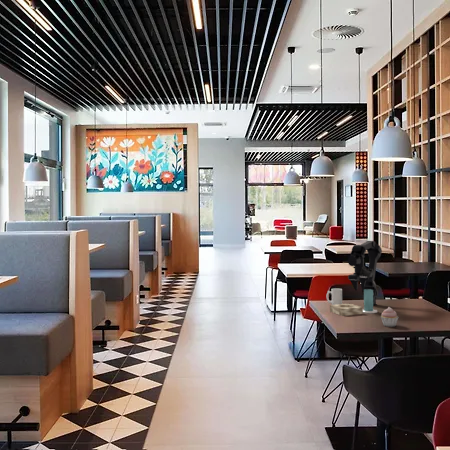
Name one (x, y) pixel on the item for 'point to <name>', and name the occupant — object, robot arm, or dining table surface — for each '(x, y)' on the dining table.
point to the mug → (335, 296)
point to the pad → (370, 311)
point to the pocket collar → (346, 309)
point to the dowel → (368, 300)
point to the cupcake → (389, 317)
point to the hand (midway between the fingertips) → (359, 289)
